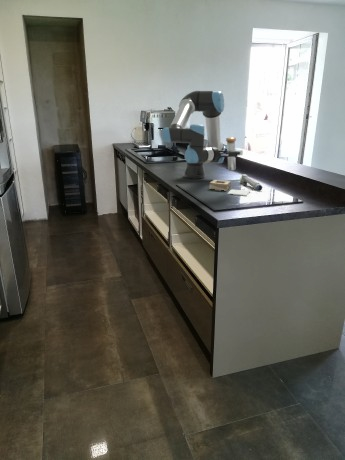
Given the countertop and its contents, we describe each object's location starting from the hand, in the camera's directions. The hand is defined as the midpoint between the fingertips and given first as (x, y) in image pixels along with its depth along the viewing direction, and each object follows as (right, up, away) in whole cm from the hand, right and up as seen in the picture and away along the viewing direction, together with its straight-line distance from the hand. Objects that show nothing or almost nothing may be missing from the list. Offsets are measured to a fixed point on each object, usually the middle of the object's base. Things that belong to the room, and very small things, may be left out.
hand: (238, 152), depth 202 cm
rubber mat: (0, -24, +1) cm, 24 cm away
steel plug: (-4, -10, 0) cm, 11 cm away
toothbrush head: (+11, -18, +19) cm, 28 cm away
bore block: (-9, -20, +12) cm, 25 cm away
